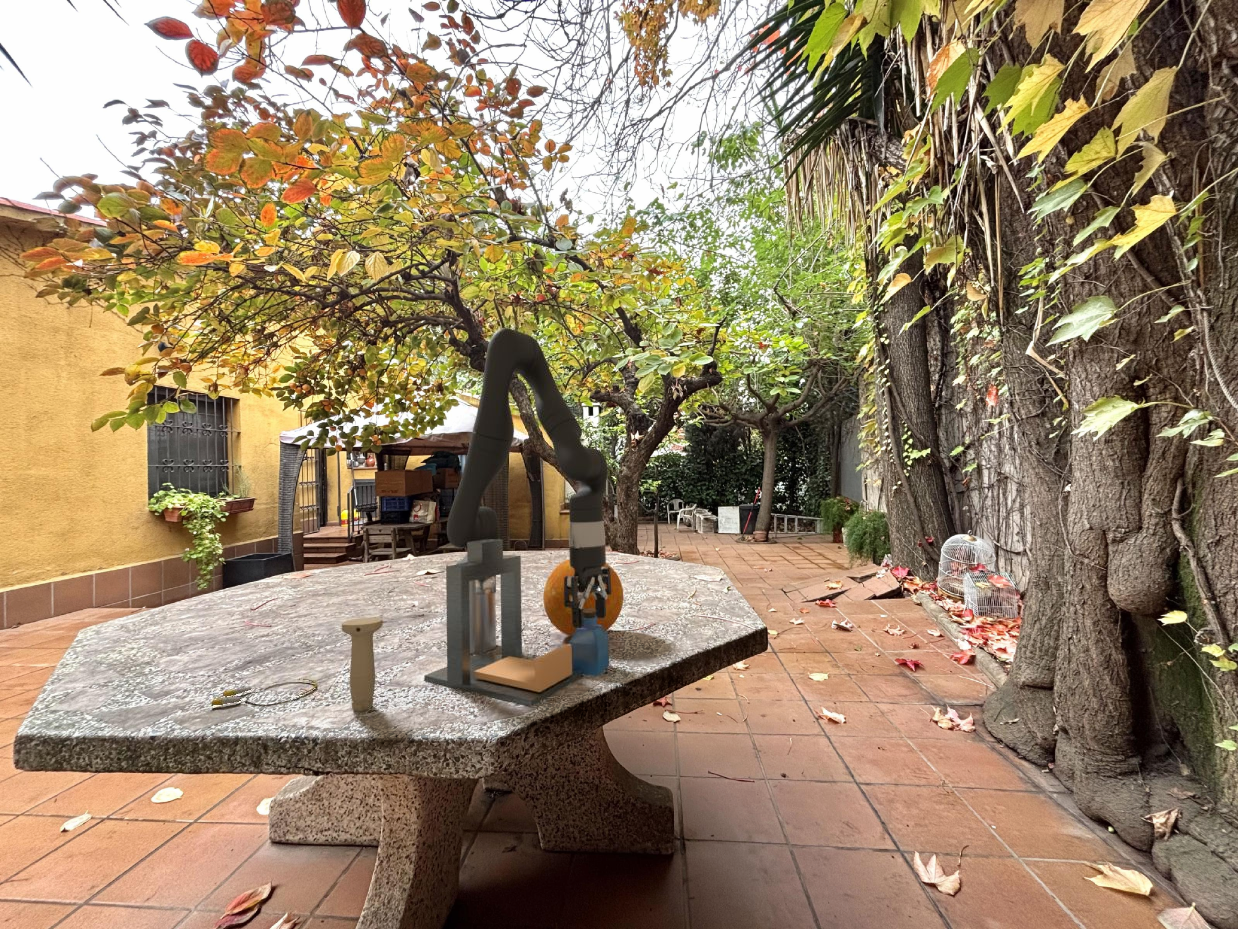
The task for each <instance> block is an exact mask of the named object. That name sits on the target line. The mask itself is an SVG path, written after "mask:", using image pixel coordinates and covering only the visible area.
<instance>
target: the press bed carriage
mask: <svg viewBox="0 0 1238 929" xmlns="http://www.w3.org/2000/svg"><path fill="white" fill-rule="evenodd" d="M571 674H572V644H569V643H566V644H564V645H561V646H560V647H557V648H555V649H553V650H552V651H549V652H547V653H545V654H542V655H540V656H538V657H536V658H534V660H532V659H527V658H523V657H522V658H517V657H511V656H508V657H506V658H504V659H501V660H499V661H497V662H494V663H492V664H490V665H488V666H485V667H483V668H481V669H478V670H476V671H474V678H478V679H483V680H487V681H492V682H496V683H501V684H505V685H510V686H514V687H519V688H523V689H528V690H532V691H537V692H541V691H543V690H545V689H546V688H548V687H550V686H552V685H554V684H555V683H557V682H559V681H561V680H563V679H564V678H566V677H568V676H570V675H571Z"/></svg>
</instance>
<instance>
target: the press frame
mask: <svg viewBox="0 0 1238 929" xmlns="http://www.w3.org/2000/svg"><path fill="white" fill-rule="evenodd" d="M466 548H467V549H466V552H467V554H466V555H467V562H465V563H460V564H457V563H454V564H450V565H445V580H446V582H445V583H446V584H445V586H446V589H445V590H446V592H445V593H446V594H445V596H446V600H445V601H446V666H444V667H442V668H440V669H437V670H434V671H431V672H429V673H427V674H425V675H424V678H423V680H424V682H428V683H432V684H437V685H440V686H445V687H449V688H453V689H458V690H462V691H466V692H470V693H475V694H478V695H482V696H487V697H490V698H496V699H500V700H503V701H508V702H512V703H516V704H520V705H525V706H528V707H533V706H535V705H536V704H538V703H539V702H541V700H542V701H543V700H545V699H547V698H548V697H550V696H552V695H553V694H556V693H558V692H559V691H561V690H562V689H564V688H565V687H567V686H569V685H571V684H572V683H574V682H575V681H578V680H579V679H581V678H583V677H584V675H583V671H579V670H574V669H572V674H571V675H570V676H568V677H566V678H564V679H563V680H561V681H559V682H557V683H555V684H554V685H552V686H550V687H548V688H546V689H545V690H543V691H541V692H537V691H532V690H528V689H523V688H519V687H514V686H510V685H505V684H501V683H496V682H492V681H487V680H483V679H478V678H474V671H476V670H478V669H481V668H483V667H485V666H488V665H490V664H492V663H494V662H497V661H499V660H501V659H504V658H506V657H508V656H511V657H517V658H522V659H523V632H522V631H523V629H522V628H523V627H522V619H523V618H522V567H521V566H522V565H521V564H522V563H521V562H522V561H521V560H522V559H521V558H522V557H521V555H516V554H514V555H513V554H504V540H503V539H499V540H497V539H486V540H479V541H472V542H467V547H466ZM499 575H500V630H501V631H500V634H501V635H500V637H501V644H500V645H501V654H500V655H499V654H493V653H488V652H481V653H476V654H475V655H472V656H471V654H470V610H469V581H474V580H476V594H478V595H487V594H493V593H495V594H497V576H499Z"/></svg>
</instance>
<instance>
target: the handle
mask: <svg viewBox="0 0 1238 929" xmlns="http://www.w3.org/2000/svg"><path fill="white" fill-rule="evenodd" d="M382 627H383V618H382V617H362V618H354V619H353V618H352V619H348V620H345V621H343V622H342V623H341V631H342V632H343V633H344V634H347V635H349V636H350V637H351V647H350V648H351V649H350V650H351V652H350V653H351V654H350V668H349V670H350V671H349V692H350V698H351V701H352V703H351V707H352V710H353V711H356V712H363V711H365V710H370V709H372V706H374V695H375V687H376V666H375V654H374V653H375V651H374V634H375V633H376V632H377V631H379V630H380V629H381V628H382ZM369 708H370V709H369Z"/></svg>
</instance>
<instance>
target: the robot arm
mask: <svg viewBox="0 0 1238 929" xmlns="http://www.w3.org/2000/svg"><path fill="white" fill-rule="evenodd" d="M486 350H487V351H486V357H485V365H484V372H483V380H482V387H481V393H480V398H479V402H478V408H477V412H476V416H475V421H474V423H473V428H472V432H471V435H470V440H469V443H468V444H469V445H468V451H467V456H466V459H465V463H464V466H463V471H462V474H461V479H460V482H459V486H458V488H457V491H456V494H455V497H454V500H453V503H452V504H451V505H452V506H451V508H450V512H449V514H448V517H447V524H446V535H447V539H448V541H449V543H450V544H451V545H452V546H453V547H456V548H467V542H472V541H479V540H486V539H497V540H500V524H499V519H498V516H497V514H496V512H495V511H494V509H492V508H491V507H488V506H481V504H482V500H483V498H484V495H485V494H486V491H487V489H488V487H490V485H491V483H492V482H493V481H494V479H495V478H497V476H498V474H499V473H500V472H501V471H502V469H503V467H504V466H505V464H507V461H508V459H509V456H510V454H511V453H510V451H511V447H512V444H513V439H514V436H515V435H514V434H515V426H514V420H513V414H512V411H511V407H510V399H509V393H510V387H511V383H512V377H513V374H516V375H517V374H518V375H520V376H521V377H522V378H523V379H524V380H525V382H526V383H527V384H528V386H529V387H530V389H531V391H532V393H533V397H534V406H535V412H536V415H537V416H536V417H537V418H538V421H539V423H540V424H541V427H542V428H543V430H544V431H545V433H546V434H547V437H548V438H549V440H550V442H551V443H552V446H553V451H554V453H555V457H556V460H557V464H558V466H559V468H560V470H561V472H562V473H563V474H564V475H565V477H566V478H568V479H569V480H571V481H573V482H578V488H577V492H576V493H574V494H572V495H571V496H570V498H569V500H568V508H569V509H568V510H569V511H568V512H569V515H568V516H569V528H568V545H569V546H568V549H569V550H568V553H569V559H570V566H571V567H572V568H574V570H575V572H574V576H565V578H564V606H565V607H569V608H571V609H572V624H573V627H575V628H582V627H583V626H584V619H583V609H582V607H583V604H584V601H585V599H587V598H588V596H589V594H591V593H593V594H594V596H595V598H596V600H595V610H596V616H597V618H604V617H606V599H607V596H608V595H611V593H612V589H611V574H610V568H609V567H603V566H605V564H606V563H607V557H606V556H607V554H606V550H607V548H606V531H605V529H606V528H605V524H604V523H605V522H604V506H603V500H604V496H605V491H606V486H607V485H606V484H607V480H608V479H607V478H608V470H609V468H608V461H607V459H606V456H605V455H604V453H603V452H602V451H600V450H599V449H597V448H592V447H585V446H584V445H583V443H582V442H581V437H582V436H583V430H582V427H581V425H580V423H579V421H578V420H577V418H576V416H575V415H574V414H573V412H572V410H571V408H570V407H569V406H568V404H567V402H566V401H565V399H564V397H563V395H562V393H561V391H560V389H559V388H558V385H557V382H556V380H555V378H554V376H553V373H552V372H551V369H550V366H549V365H548V362H547V358H546V357H545V355H544V352H543V350H542V348H541V346H540V344H539V342H538V340H536V338H534V337H533V336H531V335H529V334H527V333H524V332H522V331H518V330H515V329H512V328H509V327H502V328H499V329H497V330H496V331H495V332H494V333H493V334H492V336H491V337H490V340H489V343H488V345H487V349H486ZM465 562H467V554H466V555H465V556H464V557H463V558H462V559H461V560H459V561H458V562H457V563H456V564H460V563H465ZM604 584H606V585H607V589H606V587H605V585H604ZM578 590H579V592H580V593H579V592H578ZM570 595H572V599H571V601H569V596H570ZM578 598H580V600H579V602H578ZM496 600H497V599H496V593H493V594H487V595H478V594H476V580H474V581H469V610H470V655H471V654H480V653H482V652H484V653H487V652H489V651H491V650H494V649H495V648H496V647H497V619H496V618H497V615H496V614H497V608H496V603H497V602H496Z"/></svg>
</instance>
